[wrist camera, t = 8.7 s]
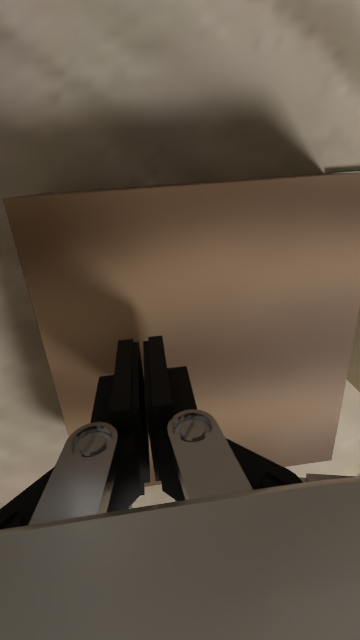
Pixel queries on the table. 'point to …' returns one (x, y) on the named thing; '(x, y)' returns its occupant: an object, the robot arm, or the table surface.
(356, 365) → the cream rectangular block
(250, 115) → the table surface
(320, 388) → the flat brown wooden block
